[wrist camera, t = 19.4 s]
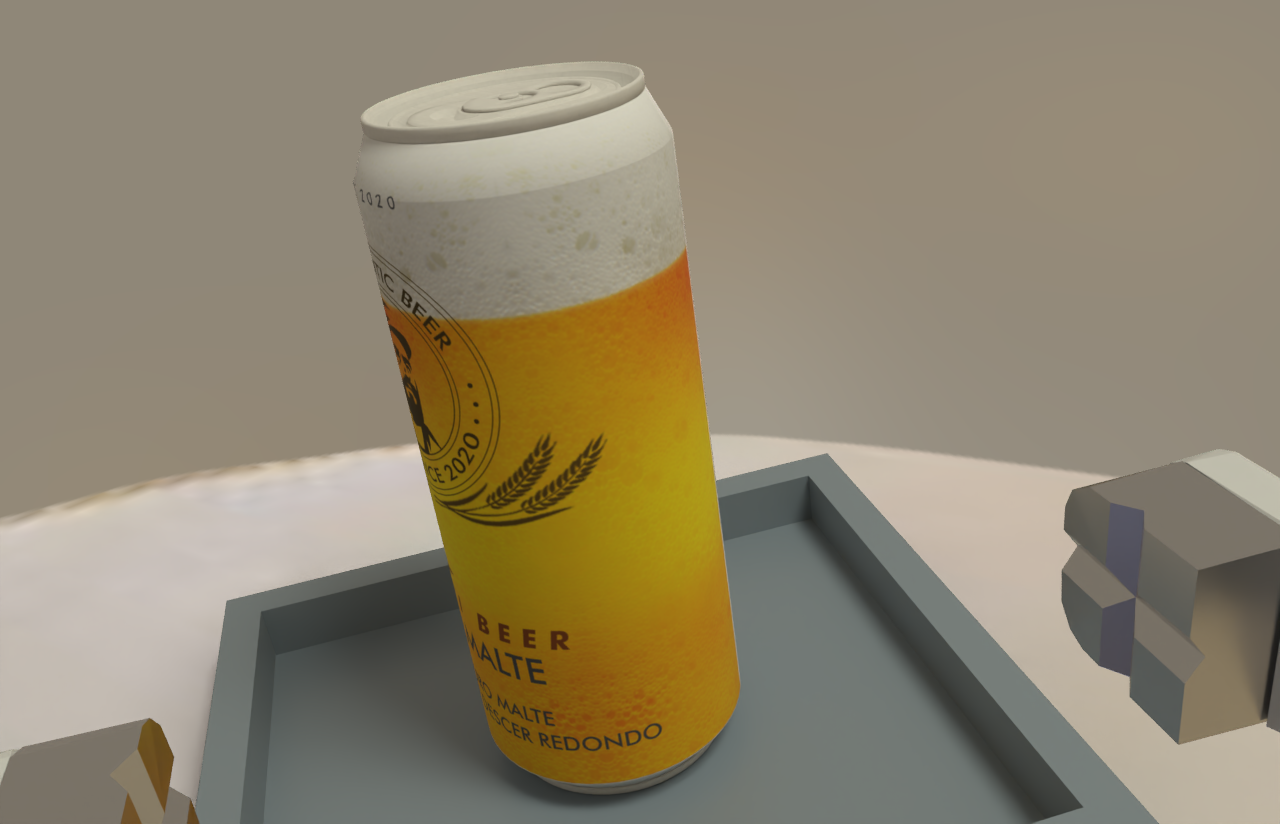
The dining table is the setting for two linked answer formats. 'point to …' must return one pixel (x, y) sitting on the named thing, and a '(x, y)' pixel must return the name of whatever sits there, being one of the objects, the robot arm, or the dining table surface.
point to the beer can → (559, 410)
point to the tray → (737, 757)
